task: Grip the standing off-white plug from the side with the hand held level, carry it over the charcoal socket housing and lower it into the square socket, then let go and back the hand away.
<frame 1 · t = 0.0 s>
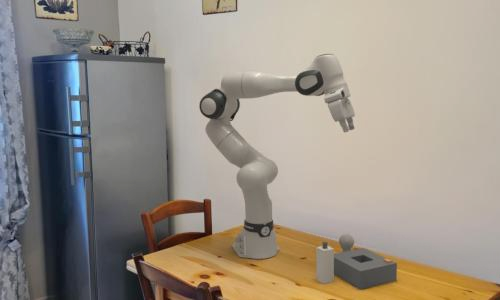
hand: (349, 130, 173), 52 cm above the table, tool tilted 20°, fingers open, 8 cm apart
socket housing: (361, 276, 169), on the table
plug: (325, 280, 166), on the table
light bulb: (346, 258, 187), on the table
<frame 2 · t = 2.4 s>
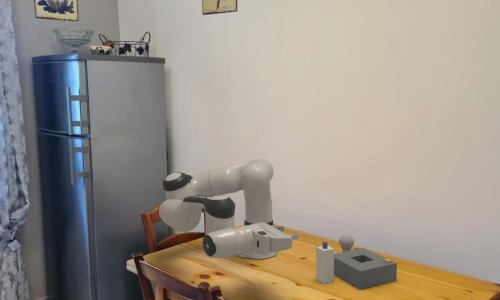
hand: (290, 232, 157), 20 cm above the table, tool horizontal, fingers open, 8 cm apart
nothing on the table moved.
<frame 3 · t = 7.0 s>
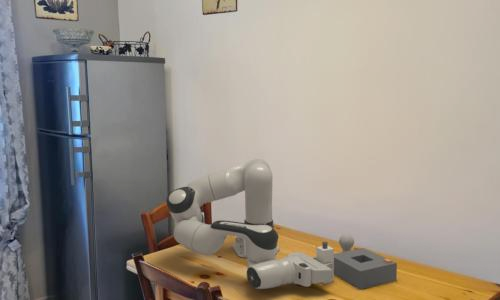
hand: (327, 262, 165), 7 cm above the table, tool horizontal, fingers closed on plug, 4 cm apart
plug: (325, 280, 166), on the table, touching gripper
everything else where it was.
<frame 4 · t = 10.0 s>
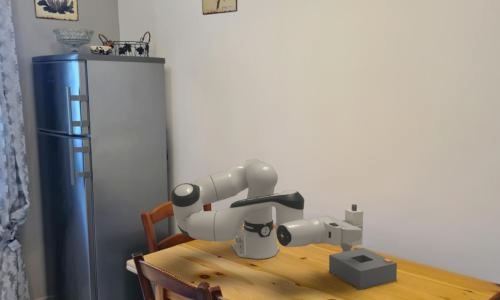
hand: (356, 225, 165), 20 cm above the table, tool horizontal, fingers closed on plug, 4 cm apart
plug: (353, 243, 165), point 13 cm above the table, touching gripper
everything else where it was.
when the fingers open (11 cm above the table, at t = 13.0 s): plug drops 1 cm, resting on socket housing.
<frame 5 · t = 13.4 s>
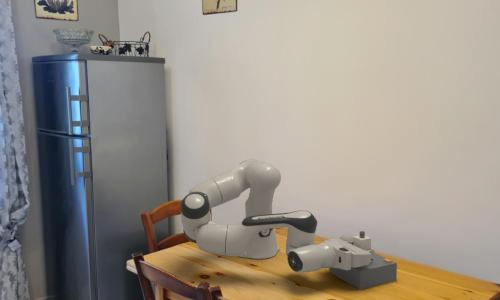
hand: (364, 247, 168), 11 cm above the table, tool horizontal, fingers open, 8 cm apart
plug: (361, 269, 169), point 3 cm above the table, touching socket housing
everything else where it was.
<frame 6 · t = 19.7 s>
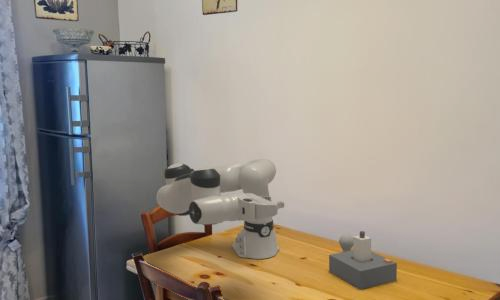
hand: (276, 201, 158), 30 cm above the table, tool horizontal, fingers open, 8 cm apart
nothing on the table moved.
at the end: plug 0.1 cm off-centre on the socket housing, point 2.5 cm above the socket housing's base; plug tilted 0°; the gripper is holding nothing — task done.
